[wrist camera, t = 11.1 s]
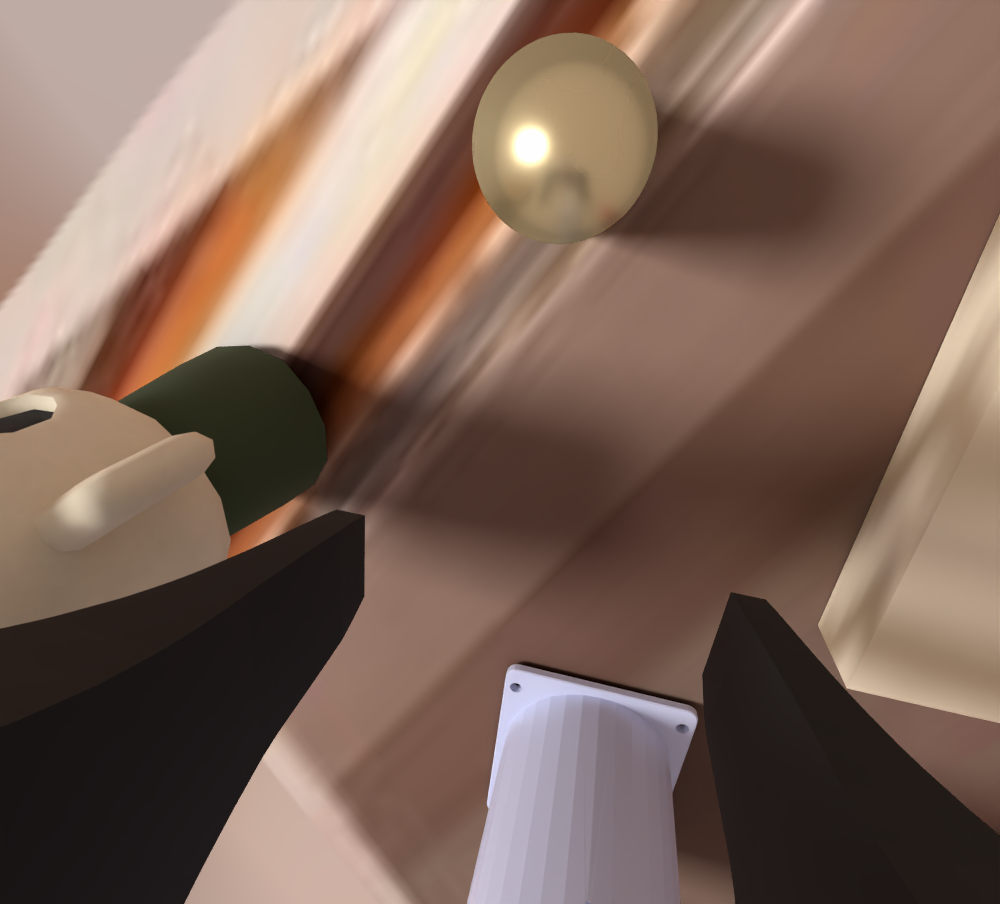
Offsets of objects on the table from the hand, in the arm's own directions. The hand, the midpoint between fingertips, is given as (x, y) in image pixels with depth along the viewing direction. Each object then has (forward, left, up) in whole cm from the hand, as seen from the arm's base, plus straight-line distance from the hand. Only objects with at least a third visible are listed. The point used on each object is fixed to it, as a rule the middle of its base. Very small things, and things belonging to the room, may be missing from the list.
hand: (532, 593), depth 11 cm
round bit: (+8, +1, -9) cm, 12 cm away
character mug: (-2, +12, -10) cm, 15 cm away
